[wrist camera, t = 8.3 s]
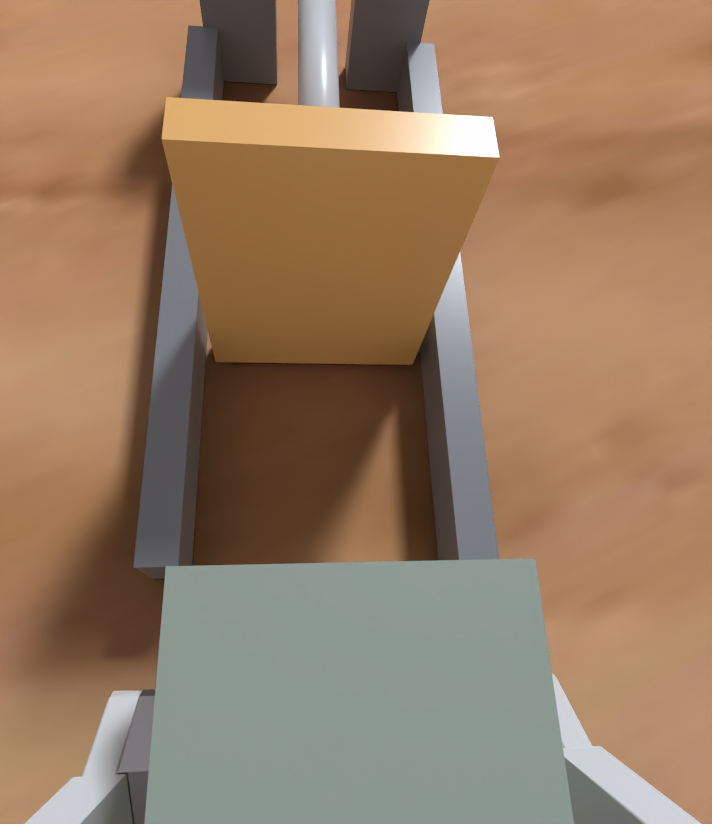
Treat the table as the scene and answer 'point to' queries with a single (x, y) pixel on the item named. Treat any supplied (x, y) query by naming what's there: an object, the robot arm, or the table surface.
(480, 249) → the table surface
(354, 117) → the pusher
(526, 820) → the tin
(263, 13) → the lane
